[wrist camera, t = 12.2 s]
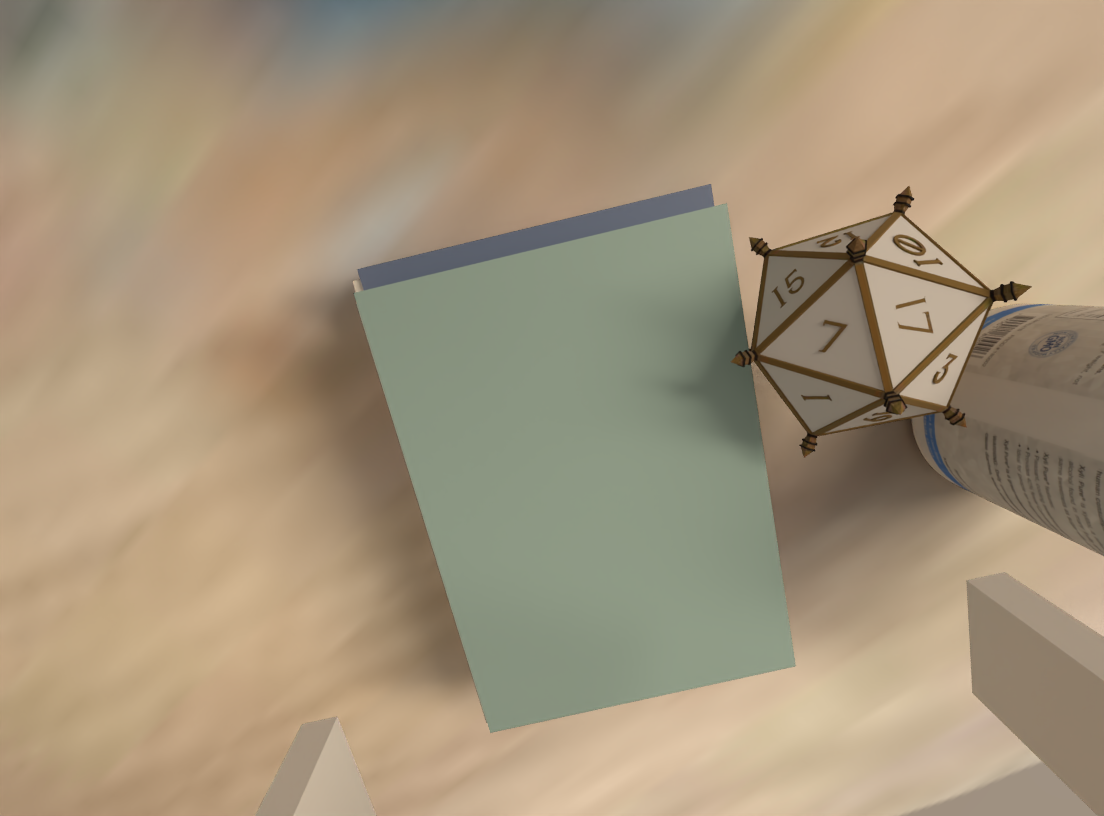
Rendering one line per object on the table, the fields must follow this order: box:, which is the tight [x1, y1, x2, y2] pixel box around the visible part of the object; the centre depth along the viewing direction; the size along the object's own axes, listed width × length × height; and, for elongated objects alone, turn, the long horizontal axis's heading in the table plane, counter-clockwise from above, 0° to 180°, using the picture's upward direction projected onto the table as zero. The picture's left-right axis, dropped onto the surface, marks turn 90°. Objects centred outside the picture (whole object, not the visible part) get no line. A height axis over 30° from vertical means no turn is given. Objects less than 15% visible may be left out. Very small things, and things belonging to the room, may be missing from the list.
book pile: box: [353, 184, 796, 733], centre depth 26 cm, size 22×15×6 cm
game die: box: [731, 186, 1032, 457], centre depth 20 cm, size 9×8×10 cm
